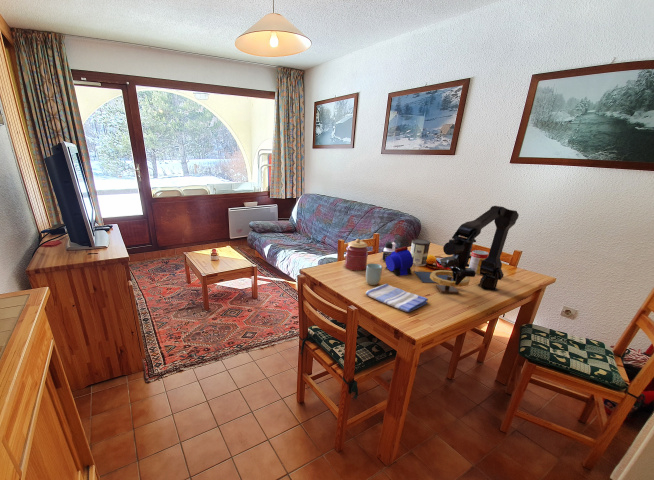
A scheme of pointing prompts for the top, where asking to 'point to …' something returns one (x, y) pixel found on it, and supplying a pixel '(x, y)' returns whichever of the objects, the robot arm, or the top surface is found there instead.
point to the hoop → (447, 282)
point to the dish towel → (397, 297)
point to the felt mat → (426, 277)
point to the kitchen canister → (356, 255)
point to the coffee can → (419, 251)
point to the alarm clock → (400, 261)
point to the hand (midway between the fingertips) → (455, 283)
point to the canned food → (477, 260)
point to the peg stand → (447, 288)
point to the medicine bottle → (388, 250)
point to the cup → (373, 273)
